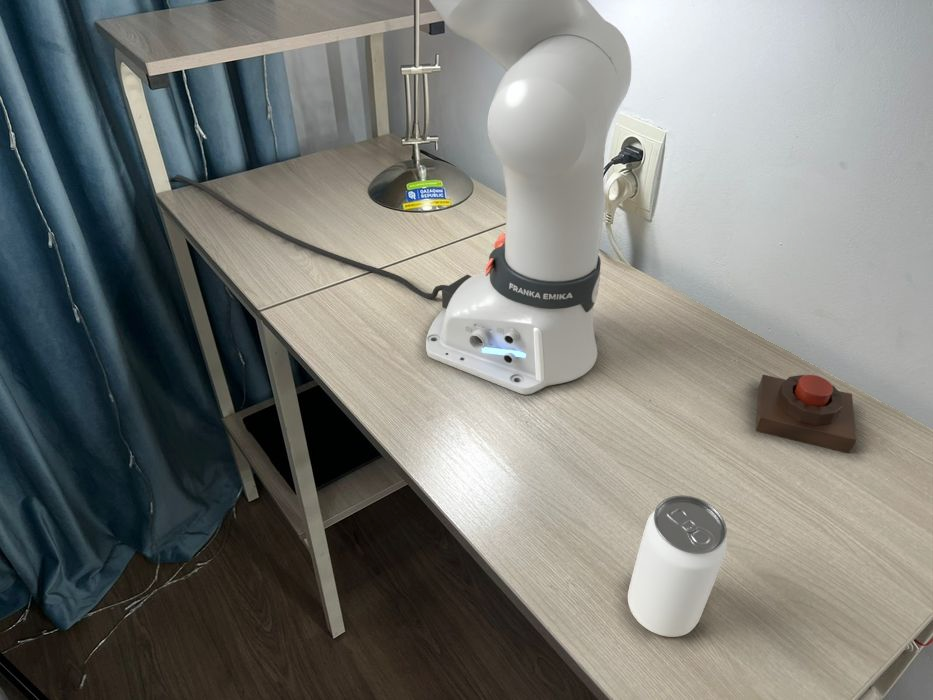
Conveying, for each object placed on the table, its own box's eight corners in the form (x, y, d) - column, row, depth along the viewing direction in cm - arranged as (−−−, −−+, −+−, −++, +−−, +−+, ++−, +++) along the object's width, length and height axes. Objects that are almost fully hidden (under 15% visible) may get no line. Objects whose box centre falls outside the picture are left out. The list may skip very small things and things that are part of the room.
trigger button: (794, 402, 78) (799, 391, 77) (794, 382, 81) (798, 371, 80) (828, 410, 77) (834, 398, 76) (827, 390, 80) (832, 378, 79)
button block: (755, 431, 80) (764, 405, 77) (758, 387, 86) (766, 362, 83) (849, 453, 77) (862, 428, 74) (845, 407, 83) (857, 382, 80)
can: (662, 653, 59) (691, 572, 52) (611, 595, 63) (631, 512, 56) (715, 616, 62) (750, 533, 54) (663, 562, 66) (688, 479, 58)
